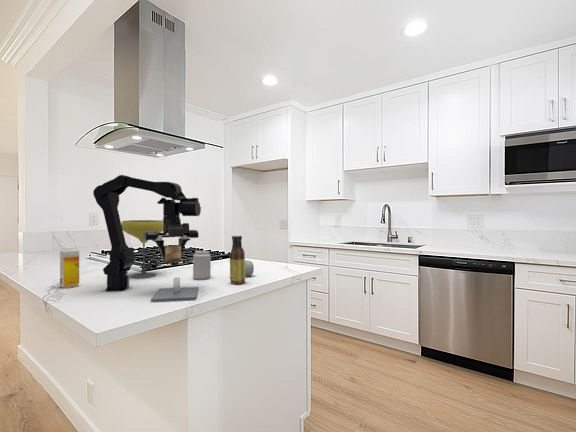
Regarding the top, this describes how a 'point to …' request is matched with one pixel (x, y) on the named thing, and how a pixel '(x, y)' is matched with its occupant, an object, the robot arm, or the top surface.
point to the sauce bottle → (237, 261)
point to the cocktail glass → (137, 230)
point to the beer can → (69, 267)
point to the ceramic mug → (248, 268)
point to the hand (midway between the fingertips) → (171, 257)
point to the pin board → (175, 293)
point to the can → (201, 265)
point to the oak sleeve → (172, 254)
